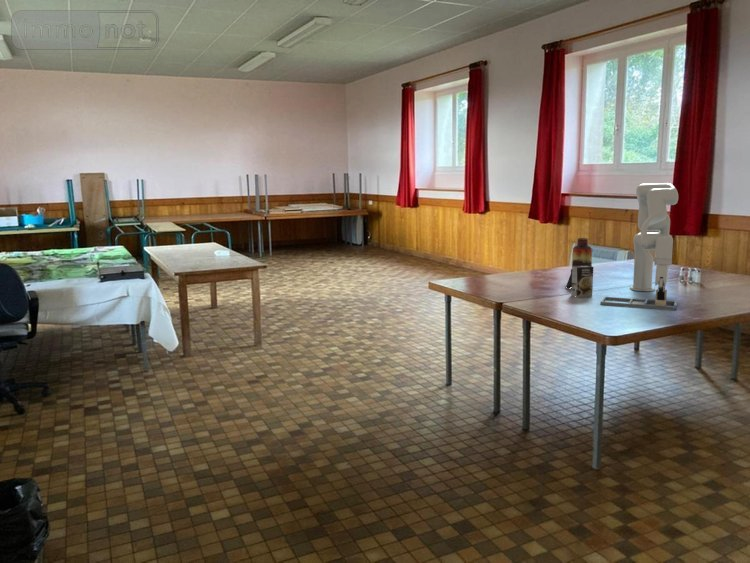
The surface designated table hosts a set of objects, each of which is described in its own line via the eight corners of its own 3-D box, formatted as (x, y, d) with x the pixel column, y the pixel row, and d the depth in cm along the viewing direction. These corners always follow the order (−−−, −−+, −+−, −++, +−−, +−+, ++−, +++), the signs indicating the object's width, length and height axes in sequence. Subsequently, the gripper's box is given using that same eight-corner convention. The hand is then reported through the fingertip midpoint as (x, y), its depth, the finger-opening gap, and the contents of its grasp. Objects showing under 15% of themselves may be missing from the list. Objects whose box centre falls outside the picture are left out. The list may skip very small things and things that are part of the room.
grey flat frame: (604, 299, 316) (604, 294, 316) (676, 304, 300) (677, 299, 300) (600, 304, 304) (600, 299, 304) (675, 310, 288) (675, 305, 288)
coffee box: (577, 297, 322) (577, 267, 320) (570, 295, 329) (571, 265, 326) (592, 296, 324) (593, 266, 321) (586, 294, 330) (587, 264, 327)
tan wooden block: (655, 305, 301) (656, 289, 299) (665, 306, 298) (666, 289, 297) (655, 307, 297) (655, 290, 295) (665, 307, 295) (666, 291, 293)
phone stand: (565, 288, 348) (566, 267, 346) (570, 287, 352) (571, 266, 350) (580, 290, 342) (580, 269, 340) (585, 288, 346) (586, 267, 344)
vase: (591, 283, 361) (592, 239, 357) (571, 282, 365) (572, 239, 360) (590, 280, 372) (592, 237, 367) (571, 279, 375) (572, 237, 370)
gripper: (655, 259, 303) (653, 295, 306) (653, 263, 288) (651, 301, 291) (672, 259, 299) (670, 296, 303) (670, 264, 285) (668, 302, 288)
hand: (661, 298), depth 297 cm, fingers open, 5 cm apart
